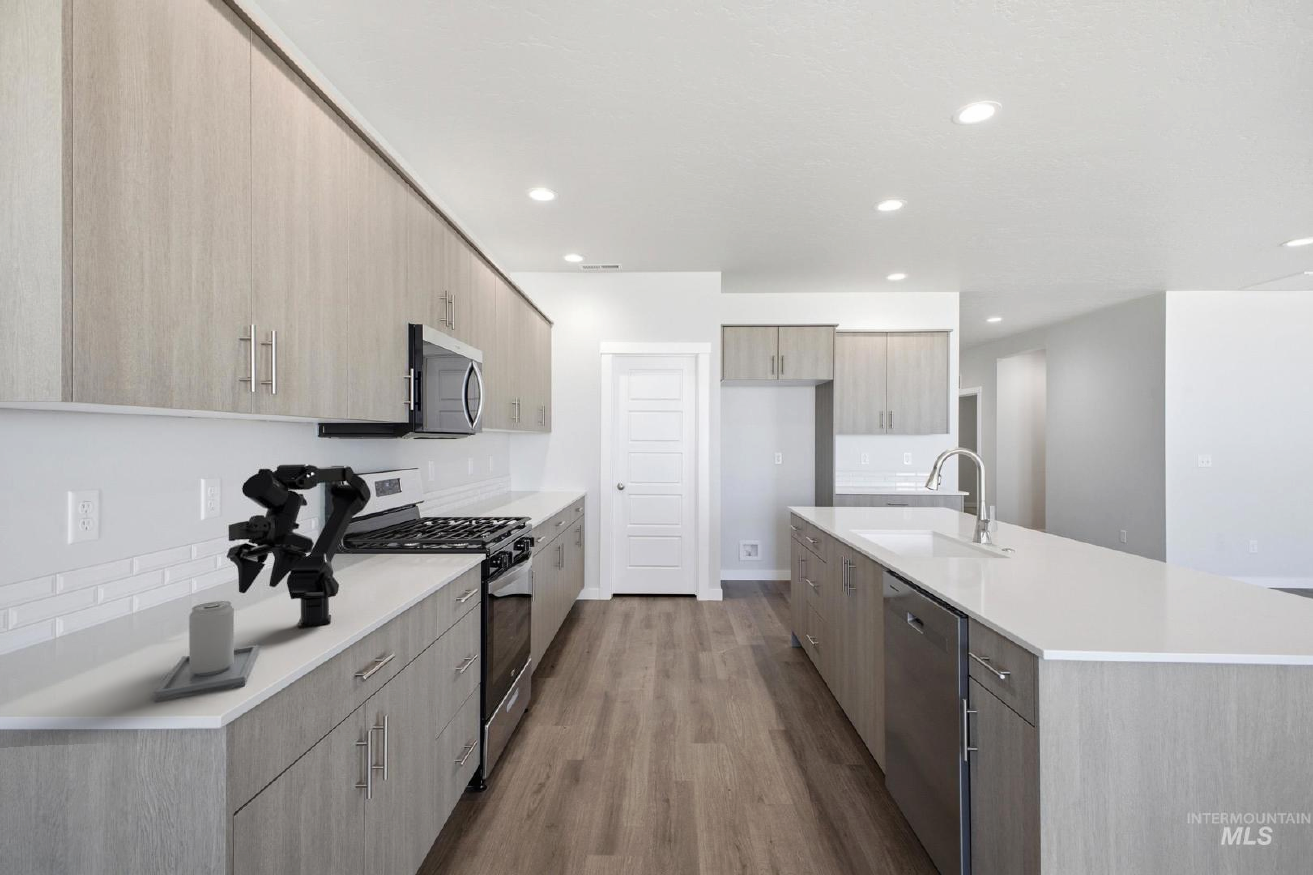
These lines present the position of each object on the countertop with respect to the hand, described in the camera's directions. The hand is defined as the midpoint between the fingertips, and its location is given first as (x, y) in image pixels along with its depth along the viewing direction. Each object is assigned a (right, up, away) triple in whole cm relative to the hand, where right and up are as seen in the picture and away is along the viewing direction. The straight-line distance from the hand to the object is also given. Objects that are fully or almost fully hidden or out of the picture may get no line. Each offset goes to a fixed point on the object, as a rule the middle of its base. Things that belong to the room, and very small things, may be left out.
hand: (256, 589), depth 113 cm
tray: (-1, -13, -10) cm, 17 cm away
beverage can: (-1, -12, -10) cm, 16 cm away
